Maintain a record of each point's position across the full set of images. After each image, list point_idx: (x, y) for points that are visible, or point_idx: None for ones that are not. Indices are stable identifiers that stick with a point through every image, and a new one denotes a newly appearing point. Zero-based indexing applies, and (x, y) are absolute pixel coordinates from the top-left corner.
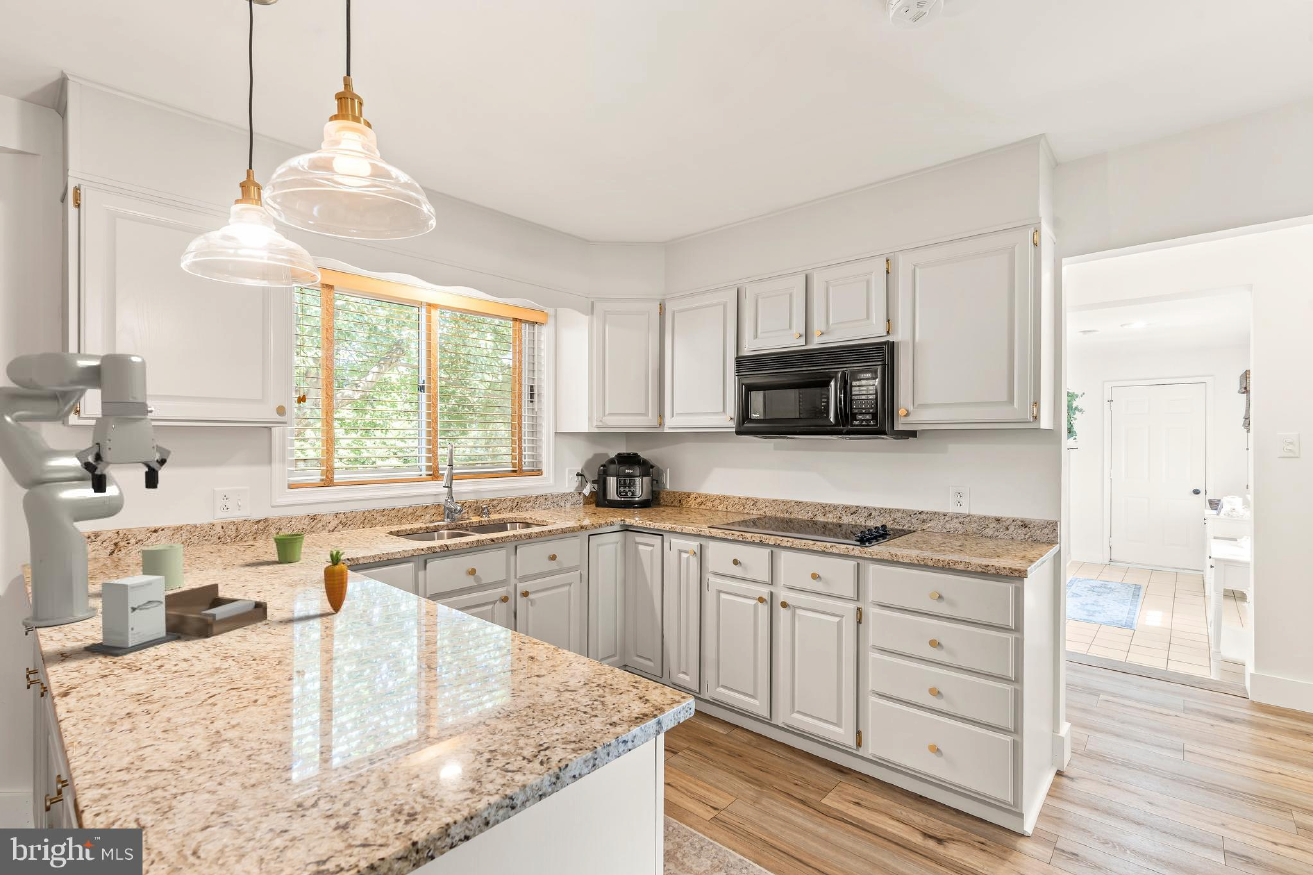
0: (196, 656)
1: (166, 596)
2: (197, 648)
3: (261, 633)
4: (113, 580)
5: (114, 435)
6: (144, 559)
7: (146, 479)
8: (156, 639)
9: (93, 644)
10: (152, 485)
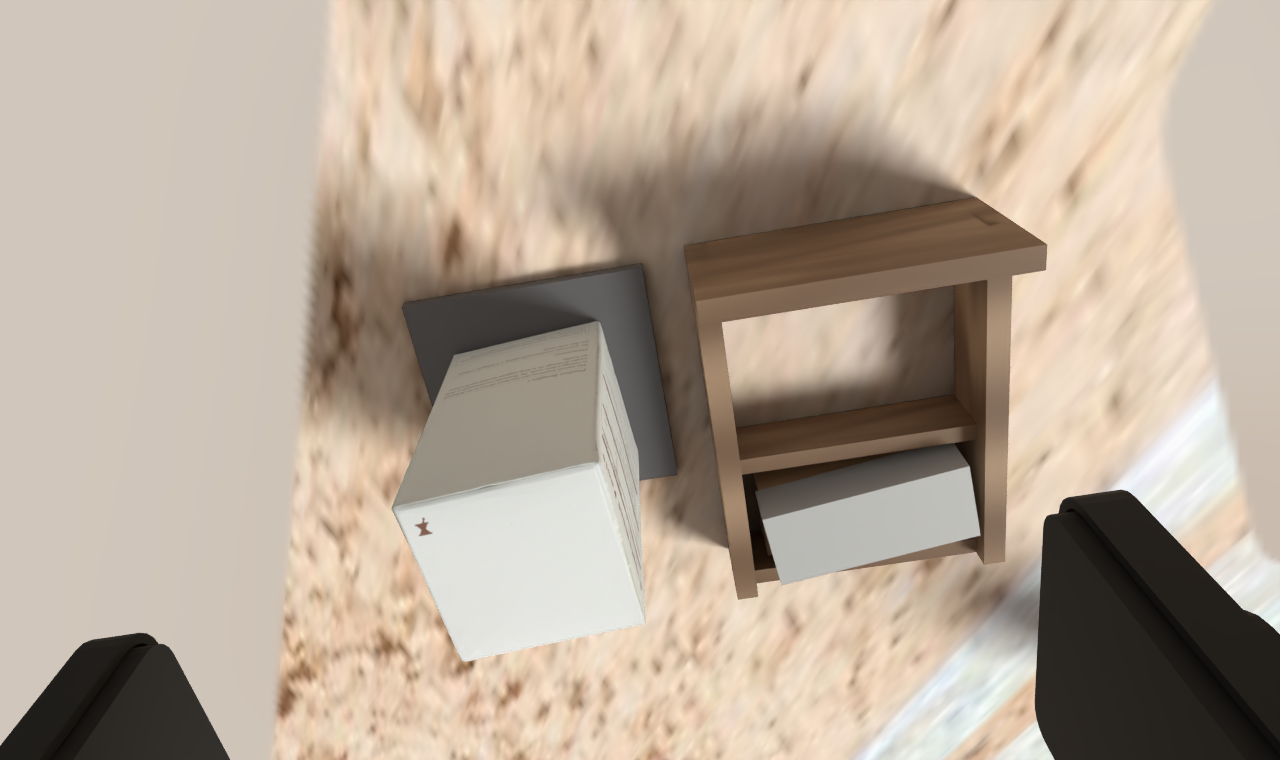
0: (608, 691)
1: (745, 316)
2: (648, 625)
3: (842, 647)
4: (446, 512)
5: None
6: None
7: (1153, 694)
8: None
9: (435, 304)
10: (1063, 740)
